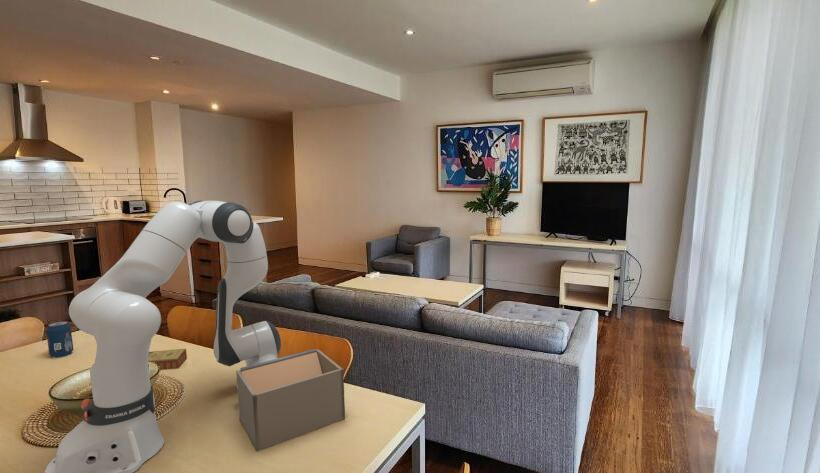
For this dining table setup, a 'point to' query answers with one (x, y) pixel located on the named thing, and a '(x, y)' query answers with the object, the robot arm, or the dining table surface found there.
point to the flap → (282, 371)
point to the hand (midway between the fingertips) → (287, 393)
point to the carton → (168, 358)
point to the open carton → (292, 406)
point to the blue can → (59, 339)
